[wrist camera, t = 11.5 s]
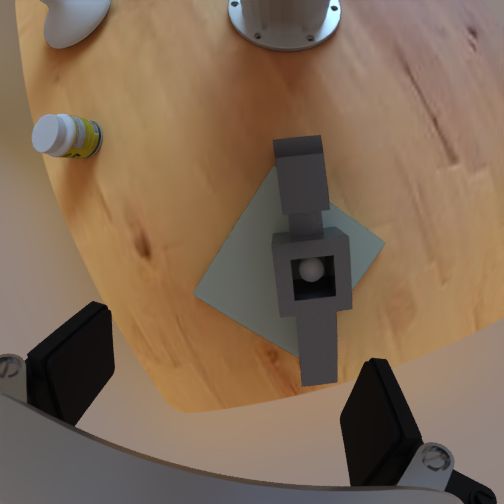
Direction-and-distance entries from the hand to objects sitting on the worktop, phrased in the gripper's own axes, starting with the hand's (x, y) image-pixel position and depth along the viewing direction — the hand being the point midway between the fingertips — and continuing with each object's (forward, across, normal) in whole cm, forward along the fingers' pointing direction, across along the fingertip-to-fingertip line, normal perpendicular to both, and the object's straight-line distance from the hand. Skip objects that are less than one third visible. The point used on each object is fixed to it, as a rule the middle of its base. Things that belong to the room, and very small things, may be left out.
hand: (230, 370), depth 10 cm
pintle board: (+23, -3, +1) cm, 23 cm away
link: (+21, -5, +3) cm, 22 cm away
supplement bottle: (+24, +23, -8) cm, 34 cm away
